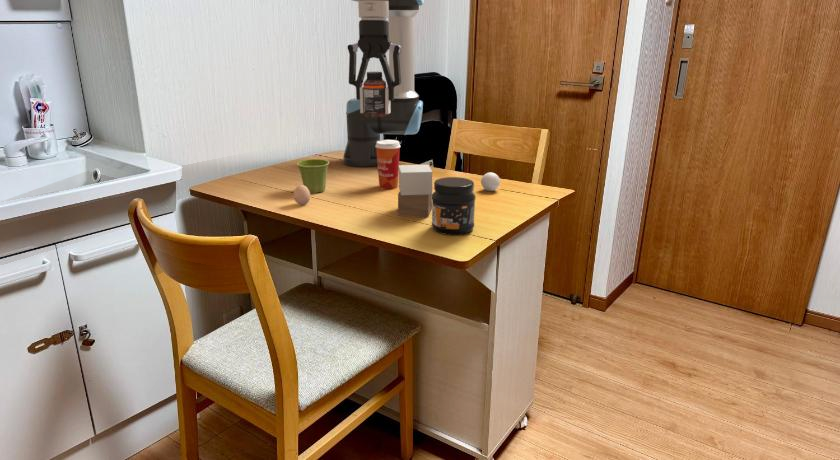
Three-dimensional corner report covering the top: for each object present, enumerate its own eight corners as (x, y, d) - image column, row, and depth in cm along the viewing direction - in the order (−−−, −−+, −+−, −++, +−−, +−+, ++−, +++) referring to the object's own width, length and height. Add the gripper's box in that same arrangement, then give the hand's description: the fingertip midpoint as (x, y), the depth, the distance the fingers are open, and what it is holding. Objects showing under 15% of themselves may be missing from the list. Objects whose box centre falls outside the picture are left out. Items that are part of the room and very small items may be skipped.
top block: (398, 186, 156) (398, 165, 154) (428, 186, 157) (428, 164, 155) (401, 195, 149) (401, 172, 147) (432, 194, 149) (432, 171, 147)
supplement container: (423, 231, 141) (423, 183, 136) (444, 219, 149) (445, 174, 145) (461, 239, 135) (463, 190, 131) (481, 226, 144) (483, 180, 140)
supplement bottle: (377, 114, 156) (376, 70, 152) (391, 116, 152) (391, 72, 148) (359, 116, 152) (358, 71, 148) (373, 118, 148) (372, 73, 144)
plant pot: (324, 196, 168) (322, 167, 165) (293, 194, 170) (291, 165, 167) (335, 187, 176) (333, 159, 174) (306, 185, 178) (304, 158, 175)
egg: (291, 204, 160) (290, 184, 158) (306, 201, 163) (305, 182, 161) (298, 208, 157) (297, 188, 155) (313, 205, 159) (312, 185, 158)
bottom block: (403, 206, 159) (403, 185, 157) (432, 208, 158) (432, 187, 156) (398, 216, 152) (398, 194, 150) (428, 217, 151) (428, 195, 148)
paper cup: (370, 186, 178) (369, 141, 173) (388, 182, 183) (388, 138, 178) (388, 191, 173) (387, 145, 168) (406, 186, 178) (406, 141, 173)
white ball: (481, 187, 178) (482, 169, 176) (499, 188, 177) (500, 170, 175) (479, 194, 171) (479, 176, 169) (498, 195, 170) (499, 177, 168)
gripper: (332, 18, 142) (336, 113, 150) (408, 19, 139) (408, 116, 147) (341, 19, 149) (344, 109, 157) (413, 19, 146) (413, 112, 154)
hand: (375, 112), depth 152 cm, fingers closed on supplement bottle, 6 cm apart
